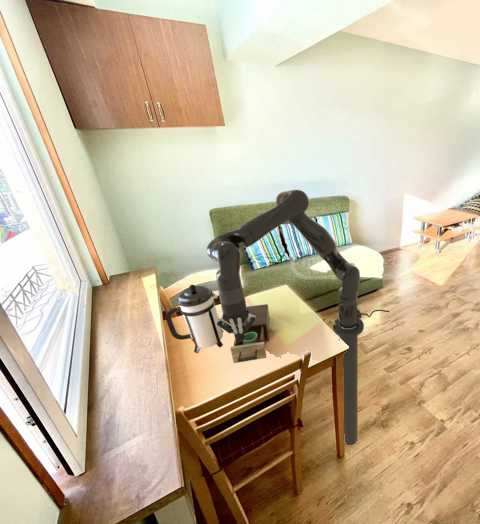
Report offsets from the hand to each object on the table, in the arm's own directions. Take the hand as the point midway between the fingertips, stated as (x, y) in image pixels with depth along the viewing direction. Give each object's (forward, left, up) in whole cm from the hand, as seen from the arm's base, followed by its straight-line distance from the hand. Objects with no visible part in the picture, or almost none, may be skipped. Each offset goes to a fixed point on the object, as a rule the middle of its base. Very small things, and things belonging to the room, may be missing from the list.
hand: (240, 340), depth 98 cm
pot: (0, -15, -15) cm, 21 cm away
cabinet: (0, -29, -17) cm, 33 cm away
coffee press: (+20, -25, -17) cm, 36 cm away
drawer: (0, -13, -16) cm, 21 cm away
